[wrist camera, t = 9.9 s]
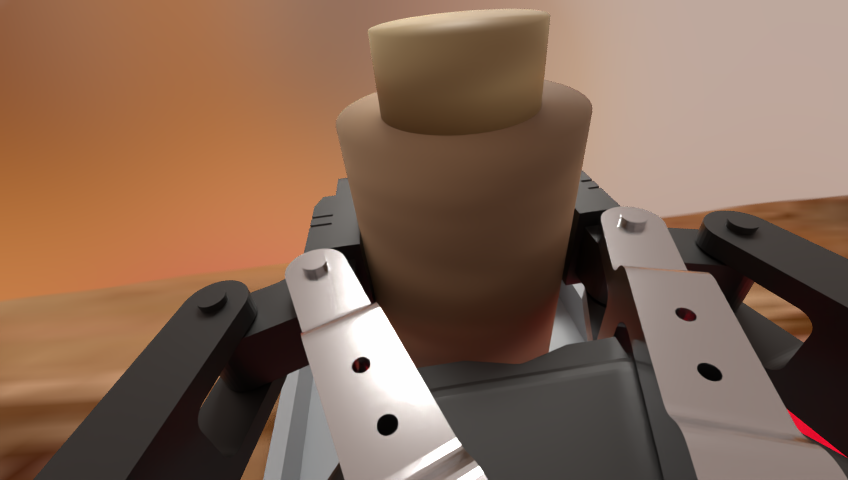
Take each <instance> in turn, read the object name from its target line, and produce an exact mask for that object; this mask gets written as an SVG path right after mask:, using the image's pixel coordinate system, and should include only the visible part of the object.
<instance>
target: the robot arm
mask: <svg viewBox="0 0 848 480" xmlns="http://www.w3.org/2000/svg"><path fill="white" fill-rule="evenodd" d="M310 226H311V228H310V229H309V233H308V238H307V242H306V247H305V251H304V254H302V255H300V256H298V257H297V258H295V259H294V260H293V261H292V262H291V263H290V264H289V265H288V267H287V269H286V271H285V279H284V280H282V281H280V282H278V283H276V284H273V285H271V286H268V287H265V288H263V289H260V290H257V291H254V292H252V293H250V292H249V290H248V288H247V286H246V285H245V284H244V283H242V282H239V281H233V280H229V281H221V282H217V283H214V284H211V285H209V286H206V287H204V288H202V289H201V290H199V291H197V292H196V293H194V294H193V295H192V296H191V297H189V298H188V299H187V300H186V301H185V302H184V304H183V305H182V306H181V307H180V308H179V309H178V311H177V312H176V313H175V314H174V315H173V317H172V318H171V319H170V320H169V321H168V322H167V324H166V325H165V326H164V327H163V328H162V329H161V331H160V332H159V333H158V334H157V335H156V336H155V338H154V339H153V340H152V341H151V342H150V343H149V345H148V346H147V347H146V348H145V349H144V350H143V352H142V353H141V354H140V355H139V356H138V358H137V359H136V360H135V361H134V362H133V363H132V365H131V366H130V367H129V368H128V369H127V370H126V372H125V373H124V374H123V375H122V376H121V377H120V379H119V380H118V381H117V382H116V383H115V384H114V386H113V387H112V388H111V389H110V390H109V391H108V393H107V394H106V395H105V396H104V397H103V399H102V400H101V401H100V402H99V403H98V404H97V406H96V407H95V408H94V409H93V410H92V411H91V413H90V414H89V415H88V416H87V417H86V418H85V420H84V421H83V422H82V423H81V424H80V425H79V427H78V428H77V429H76V430H75V431H74V432H73V434H72V435H71V436H70V437H69V438H68V440H67V441H66V442H65V443H64V444H63V445H62V447H61V448H60V449H59V450H58V451H57V452H56V454H55V455H54V456H53V457H52V458H51V459H50V461H49V462H48V463H47V464H46V465H45V466H44V468H43V469H42V470H41V471H40V472H39V473H38V475H37V476H36V477H35V478H34V479H33V480H240V479H241V477H242V475H243V472H244V470H245V468H246V466H247V464H248V461H249V459H250V457H251V455H252V453H253V450H254V448H255V446H256V444H257V442H258V440H259V437H260V435H261V433H262V431H263V429H264V426H265V424H266V422H267V420H268V418H269V415H270V413H271V411H272V409H273V407H274V404H275V402H276V400H277V398H278V396H279V393H280V391H281V389H282V387H283V385H284V383H285V380H286V378H287V375H288V374H290V373H292V372H294V371H297V370H299V369H301V368H303V367H306V366H308V365H310V368H311V371H312V374H313V378H314V381H315V384H316V388H317V391H318V394H319V397H320V401H321V404H322V407H323V410H324V414H325V417H326V420H327V424H328V427H329V430H330V433H331V437H332V440H333V443H334V446H335V450H336V453H337V456H338V460H339V463H338V464H337V466H336V467H335V469H334V470H333V472H332V473H331V475H330V476H329V478H328V479H327V480H848V458H846V457H848V259H846V258H844V257H842V256H840V255H838V254H836V253H834V252H831V251H829V250H827V249H825V248H823V247H821V246H819V245H817V244H814V243H812V242H810V241H808V240H806V239H804V238H802V237H799V236H797V235H795V234H793V233H791V232H789V231H787V230H784V229H782V228H780V227H778V226H776V225H774V224H772V223H770V222H767V221H765V220H763V219H761V218H758V217H756V216H753V215H750V214H746V213H741V212H735V211H716V212H712V213H709V214H707V215H706V216H705V217H704V219H703V221H702V224H701V226H700V228H699V230H698V229H679V228H667V226H666V224H665V222H664V221H663V220H662V219H661V218H660V217H659V216H657V215H656V214H654V213H652V212H649V211H647V210H644V209H640V208H635V207H621V206H620V205H618V203H617V202H615V201H614V200H613V199H612V198H611V197H610V196H609V195H608V194H607V193H606V192H605V191H604V190H603V189H602V188H599V186H598V185H597V184H596V183H595V182H594V181H592V179H591V178H590V177H589V176H588V175H587V174H586V173H585V172H583V171H582V170H581V176H580V182H579V187H578V193H577V198H576V204H575V209H574V215H573V220H572V226H571V231H570V237H569V242H568V248H567V253H566V259H565V264H564V270H563V275H562V280H563V282H564V284H565V285H572V284H579V283H582V284H583V285H584V292H583V296H582V304H583V311H584V319H585V327H586V334H587V341H586V342H580V343H573V344H567V345H564V346H562V347H560V348H557V349H555V350H553V351H551V352H548V353H546V354H544V355H541V356H539V357H537V358H534V359H532V360H530V361H527V362H525V363H521V364H508V363H493V362H479V361H459V362H452V363H446V364H440V365H433V366H427V367H420V368H416V367H415V366H414V364H413V362H412V361H411V359H410V357H409V355H408V354H407V352H406V350H405V349H404V347H403V345H402V343H401V342H400V340H399V338H398V337H397V335H396V333H395V331H394V330H393V328H392V326H391V325H390V323H389V321H388V319H387V318H386V316H385V314H384V313H383V311H382V309H381V308H380V306H379V305H378V303H377V302H376V298H375V294H374V289H373V285H372V281H371V276H370V272H369V268H368V263H367V259H366V254H365V250H364V246H363V241H362V237H361V233H360V229H359V225H358V221H357V217H356V212H355V208H354V204H353V199H352V195H351V191H350V186H349V182H348V178H343V179H338V184H337V191H336V195H335V196H328V197H323V198H322V200H320V201H319V203H318V204H317V205H316V206H315V208H314V212H313V216H312V220H311V225H310ZM754 282H756V283H757V284H759V285H761V286H762V287H764V288H766V289H767V290H769V291H771V292H772V293H774V294H776V295H777V296H779V297H781V298H782V299H784V300H786V301H787V302H789V303H791V304H792V305H794V306H796V307H797V308H799V309H800V310H802V311H803V312H804V313H805V314H806V315H807V316H808V317H809V319H810V320H811V322H812V326H813V330H812V333H811V335H810V336H809V337H808V338H807V340H806V341H805V342H804V343H803V342H802V341H800V340H799V339H797V338H796V337H794V336H793V335H791V334H790V333H788V332H787V331H785V330H784V329H782V328H780V327H779V326H777V325H776V324H774V323H773V322H771V321H770V320H768V319H767V318H765V317H764V316H762V315H761V314H759V313H758V312H756V311H755V310H753V309H752V308H750V307H749V306H747V305H746V304H744V303H743V300H744V298H745V297H746V295H747V293H748V292H749V290H750V288H751V287H752V285H753V283H754ZM219 376H220V378H219V379H218V381H217V383H216V384H215V386H214V387H213V389H212V391H211V392H210V394H209V396H208V397H207V399H206V400H205V402H204V404H203V405H202V403H203V401H204V399H205V398H206V396H207V395H208V393H209V391H210V390H211V388H212V386H213V385H214V383H215V382H216V380H217V378H218V377H219ZM201 405H202V407H201ZM200 408H201V409H200ZM786 408H787V409H788V410H789V411H790V412H792V413H793V414H794V415H795V416H797V417H798V418H799V419H800V420H802V421H803V422H804V423H805V424H807V425H808V426H809V427H810V428H812V429H813V430H814V431H815V432H816V433H818V434H819V435H820V436H821V437H823V438H824V439H825V440H826V441H828V442H829V443H830V444H831V445H833V446H834V447H835V448H836V449H838V450H839V451H840V452H841V453H843V454H844V455H845V456H846V457H844V456H843V455H841V454H839V453H837V452H835V451H833V450H832V449H830V448H828V447H826V446H824V445H822V444H821V443H819V442H817V441H815V440H813V439H811V438H810V437H808V436H806V435H804V434H802V433H801V432H800V431H799V430H798V429H797V427H796V425H795V424H794V422H793V420H792V418H791V417H790V415H789V413H788V411H787V409H786Z"/></svg>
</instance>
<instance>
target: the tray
mask: <svg viewBox="0 0 848 480" xmlns="http://www.w3.org/2000/svg"><path fill="white" fill-rule="evenodd" d="M583 292H584V285H583V284H582V283H579V284H572V285H565V284H564V282H563V280H562V281H561V286H560V292H559V298H558V303H557V309H556V314H555V320H554V325H553V331H552V336H551V342H550V347H549V352H551V351H553V350H555V349H557V348H560V347H562V346H564V345H567V344H573V343H580V342H586V341H587V334H586V327H585V319H584V311H583V304H582V296H583ZM338 463H339V460H338V456H337V453H336V450H335V446H334V443H333V440H332V437H331V433H330V430H329V427H328V424H327V420H326V417H325V414H324V410H323V407H322V404H321V401H320V397H319V394H318V391H317V388H316V384H315V381H314V378H313V374H312V371H311V368H310V365H308V366H306V367H303V368H301V369H299V370H297V371H294V372H292V373H290V374H288V375H287V378H286V380H285V383H284V385H283V387H282V390H281V395H280V400H279V405H278V410H277V415H276V420H275V425H274V429H273V434H272V439H271V444H270V449H269V454H268V459H267V464H266V469H265V474H264V479H263V480H327V479H328V478H329V476H330V475H331V473H332V472H333V470H334V469H335V467H336V466H337V464H338Z"/></svg>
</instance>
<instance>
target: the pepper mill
mask: <svg viewBox="0 0 848 480" xmlns="http://www.w3.org/2000/svg"><path fill="white" fill-rule="evenodd" d="M549 24H550V14H549V13H548V12H545V11H539V10H530V9H490V10H489V9H488V10H473V11H472V10H471V11H460V12H449V13H440V14H431V15H424V16H417V17H411V18H405V19H400V20H396V21H391V22H387V23H383V24H380V25H376V26H374V27H372V28H370V29H369V30H368V36H369V43H370V49H371V55H372V62H373V69H374V75H375V82H376V88H377V92H375V93H372V94H370V95H368V96H365V97H363V98H361V99H359V100H357V101H355V102H353V103H352V104H351V105H349V106H347V107H346V108H345V109H344V110H343V111H342V112H341V113H340V114H339V116H338V118H337V120H336V129H337V134H338V138H339V142H340V147H341V151H342V156H343V160H344V164H345V168H346V173H347V177H348V182H349V186H350V191H351V195H352V199H353V204H354V208H355V212H356V217H357V221H358V225H359V229H360V233H361V237H362V241H363V246H364V250H365V254H366V259H367V263H368V268H369V272H370V276H371V281H372V285H373V289H374V294H375V298H376V302H377V303H378V305H379V306H380V308H381V309H382V311H383V313H384V314H385V316H386V318H387V319H388V321H389V323H390V325H391V326H392V328H393V330H394V331H395V333H396V335H397V337H398V338H399V340H400V342H401V343H402V345H403V347H404V349H405V350H406V352H407V354H408V355H409V357H410V359H411V361H412V362H413V364H414V366H415V367H416V368H420V367H427V366H433V365H440V364H446V363H452V362H459V361H479V362H493V363H508V364H521V363H525V362H527V361H530V360H532V359H534V358H537V357H539V356H541V355H544V354H546V353H548V352H549V347H550V342H551V336H552V331H553V325H554V320H555V314H556V309H557V303H558V298H559V292H560V286H561V281H562V275H563V270H564V264H565V259H566V253H567V248H568V242H569V237H570V231H571V226H572V220H573V215H574V209H575V204H576V198H577V193H578V187H579V182H580V176H581V170H582V165H583V159H584V154H585V148H586V142H587V137H588V132H589V126H590V120H591V115H592V105H591V103H590V101H589V99H588V98H587V97H586V96H585V95H583V94H582V93H580V92H579V91H577V90H575V89H573V88H571V87H568V86H565V85H563V84H559V83H555V82H552V81H547V80H544V74H545V64H546V54H547V44H548V34H549Z"/></svg>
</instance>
